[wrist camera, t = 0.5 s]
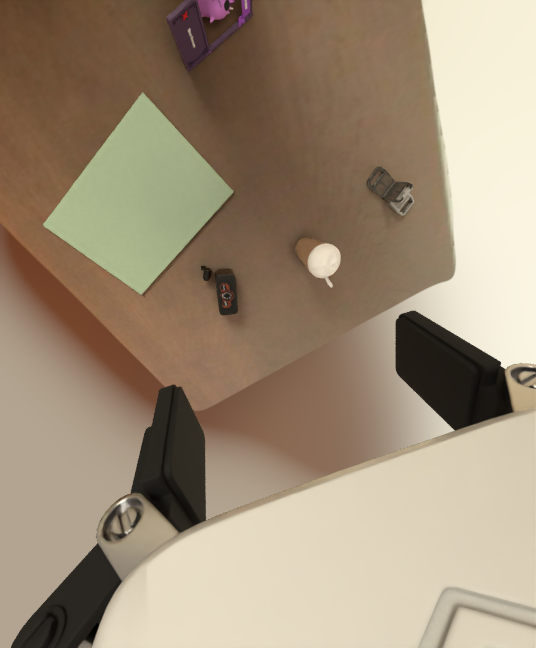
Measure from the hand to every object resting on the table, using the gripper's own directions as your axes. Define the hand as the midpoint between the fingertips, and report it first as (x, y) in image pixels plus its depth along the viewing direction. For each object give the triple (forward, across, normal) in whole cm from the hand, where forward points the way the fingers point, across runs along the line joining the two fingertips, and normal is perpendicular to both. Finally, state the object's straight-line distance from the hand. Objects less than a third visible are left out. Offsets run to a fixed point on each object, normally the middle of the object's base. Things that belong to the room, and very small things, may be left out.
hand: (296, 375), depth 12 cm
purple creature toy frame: (+33, -4, -23) cm, 40 cm away
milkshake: (+34, -11, +5) cm, 36 cm away
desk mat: (+33, +10, -7) cm, 35 cm away
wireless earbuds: (+34, +3, +6) cm, 34 cm away
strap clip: (+34, -25, 0) cm, 42 cm away
